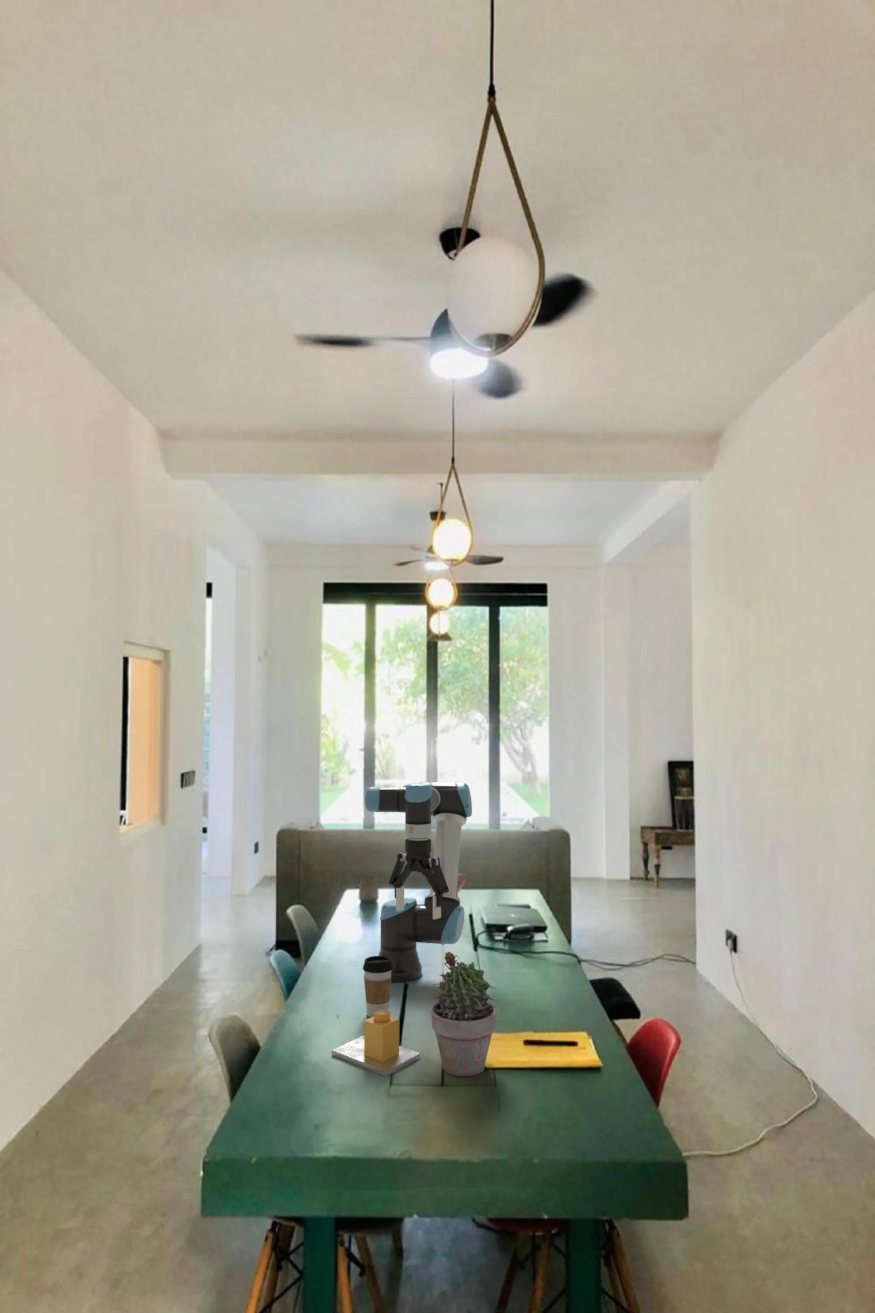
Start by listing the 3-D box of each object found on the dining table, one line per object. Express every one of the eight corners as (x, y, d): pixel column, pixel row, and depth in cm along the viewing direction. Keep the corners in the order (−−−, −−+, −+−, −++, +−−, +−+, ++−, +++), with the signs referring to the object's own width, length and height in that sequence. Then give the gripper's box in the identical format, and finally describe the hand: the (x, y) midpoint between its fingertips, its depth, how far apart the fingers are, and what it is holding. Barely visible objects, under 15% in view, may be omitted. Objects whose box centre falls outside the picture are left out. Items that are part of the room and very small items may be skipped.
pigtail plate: (331, 1055, 184) (332, 1029, 185) (366, 1039, 194) (366, 1014, 194) (386, 1077, 173) (386, 1048, 174) (419, 1058, 183) (419, 1032, 183)
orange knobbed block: (364, 1055, 182) (364, 1014, 183) (381, 1046, 187) (381, 1006, 187) (382, 1062, 178) (382, 1020, 179) (399, 1053, 183) (399, 1012, 184)
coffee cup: (369, 1022, 205) (369, 965, 206) (357, 1011, 212) (358, 956, 213) (397, 1016, 208) (397, 960, 210) (385, 1006, 216) (385, 952, 217)
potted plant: (485, 1095, 165) (484, 977, 167) (411, 1073, 175) (411, 962, 177) (521, 1063, 180) (520, 956, 182) (451, 1044, 190) (451, 943, 192)
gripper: (377, 835, 220) (376, 910, 219) (444, 844, 205) (444, 924, 203) (394, 832, 226) (394, 905, 224) (461, 841, 211) (461, 918, 209)
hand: (418, 914), depth 214 cm, fingers open, 13 cm apart
